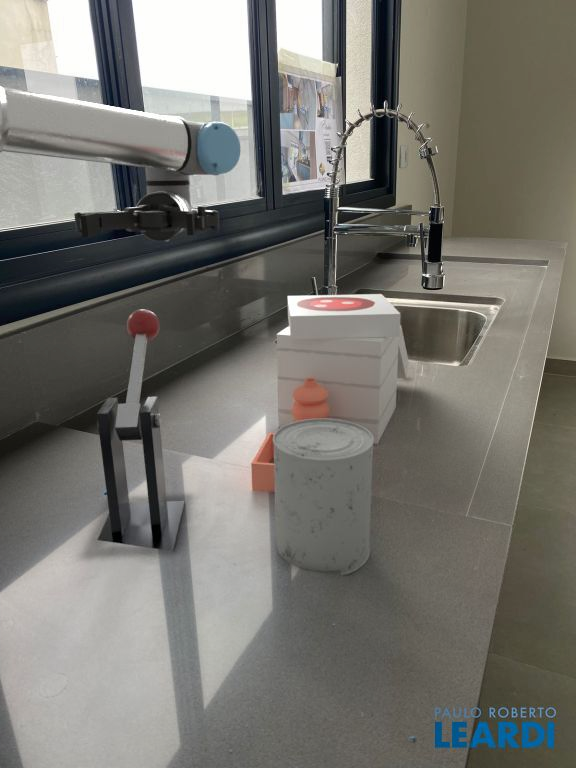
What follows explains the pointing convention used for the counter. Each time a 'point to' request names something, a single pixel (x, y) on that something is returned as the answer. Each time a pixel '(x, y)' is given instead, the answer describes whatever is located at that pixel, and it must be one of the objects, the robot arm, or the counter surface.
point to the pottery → (305, 407)
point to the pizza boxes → (343, 356)
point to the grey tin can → (323, 494)
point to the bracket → (158, 516)
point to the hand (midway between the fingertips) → (136, 225)
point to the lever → (136, 374)
